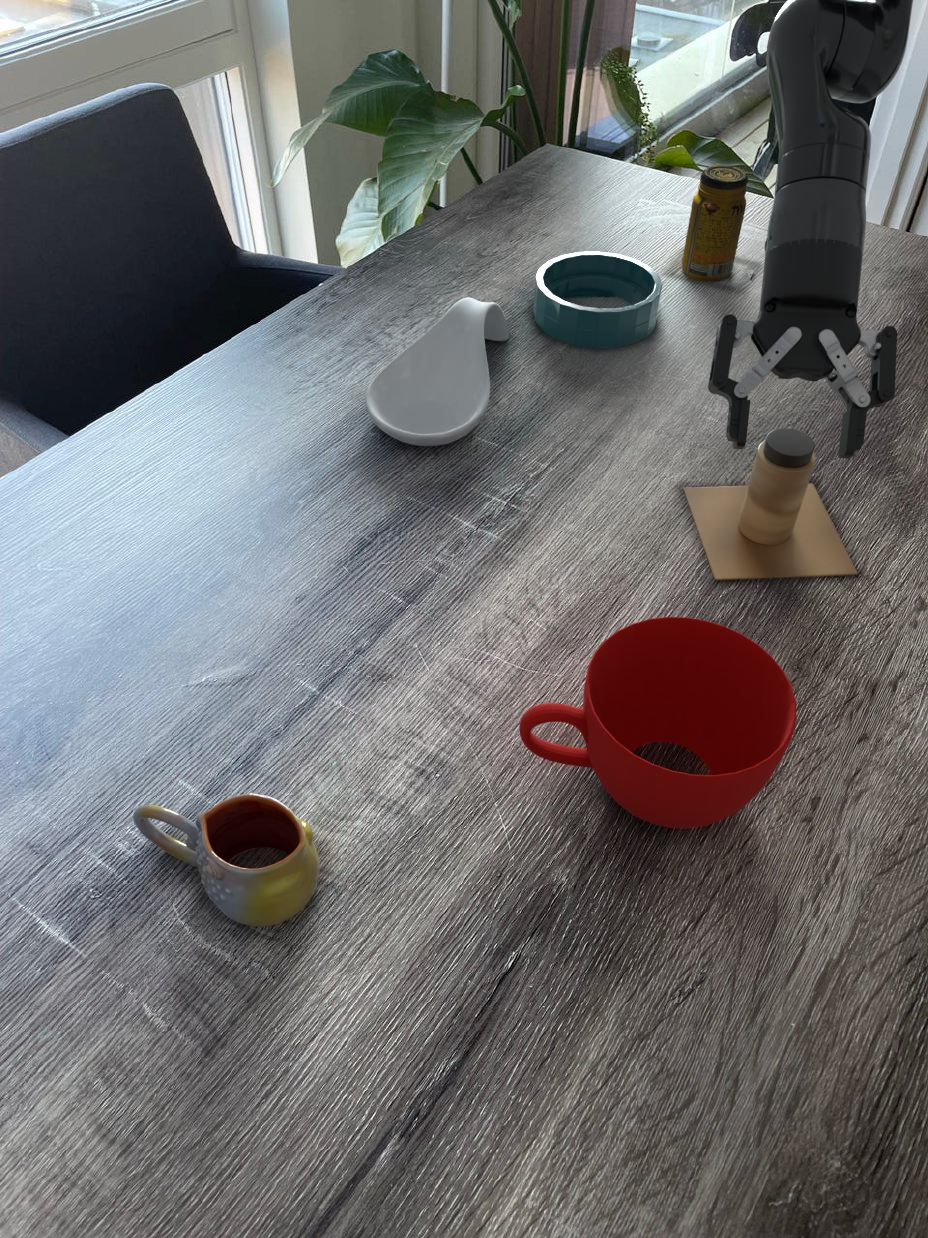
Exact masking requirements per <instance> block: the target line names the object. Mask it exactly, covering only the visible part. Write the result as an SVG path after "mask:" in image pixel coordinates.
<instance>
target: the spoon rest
mask: <svg viewBox="0 0 928 1238" xmlns="http://www.w3.org/2000/svg"><path fill="white" fill-rule="evenodd" d="M509 336H510V335H509V327H508V323H507V318H506V315H505V314H504V311H503V309H502V307H501V306H500V305H499V304H498V303H497V302H493V301H491V302H490V301H489V302H486V301H480V300H478V299H475V298H474V297H473V298H472V297H469V296H467V297H463V298H461V299H459V300H458V301H456V302H455V303H454V304H453V305H452V306H450V308H449V309H448V310H447V311H446V312H445V313H444V314H443V315H442V316H441V317H440V318H439V319H438V320H437V321H436V322H435V323H434V324H433V325H432V326H430V328H429V329H428V330H427V331H426V332H424V333H423V334H422V335H421V336H420V337H418V338H417V339H416V340H415V341H414V342H413V343H411V344H410V345H409V346H407V347H406V348H404V350H403V351H402V352H400V353H399V354H398V355H397V356H395V357H394V358H393V359H392V360H390V361H389V363H388V364H386V366H384V367H383V368H382V369H381V370H380V371H379V372H378V373H377V374H376V375H375V377H374V378H373V379H372V380H371V382H369V385H368V386H367V389H366V391H365V396H364V405H365V409H366V412H367V414H368V416H369V418H370V419H371V421H372V422H373V424H375V426H377V428H379V429H380V430H381V431H382V432H383V433H385V434H386V435H388V436H389V437H391V438H393V439H395V440H397V441H400V442H402V443H404V444H409V445H411V446H419V447H437V446H443V445H448V444H451V443H454V442H456V441H458V440H460V439H462V438H463V437H465V436H467V435H468V434H469V433H470V432H471V431H473V430H474V429H475V427H477V425H478V424H479V423H480V421H481V420H482V419H483V417H484V415H485V414H486V411H487V410H488V406H489V401H490V396H491V379H490V372H489V371H490V370H489V365H488V358H487V351H486V350H487V349H486V342H485V340H490V341H496V342H506V341H508V340H509V339H510V337H509Z"/></svg>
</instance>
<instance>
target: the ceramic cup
mask: <svg viewBox="0 0 928 1238" xmlns="http://www.w3.org/2000/svg"><path fill="white" fill-rule="evenodd" d="M582 699H583V701H582V708H579V707H576V706H573V705H569V704H565V703H559V702H546V703H541V704H540V703H539V704H537V705H535V706H532V707H531V708H529V709H528V710H526V711H525V712H524V714H523V715H522V716H521V718H520V720H519V724H518V725H519V727H518V728H519V736H520V740H521V741H522V743H523V745H524V746H525V747H526V748H527V750H528V751H530V752H531V753H532V754H534V755H535V756H537V757H539V758H541V759H543V760H546V761H550V762H553V763H557V764H561V765H568V766H575V767H579V768H581V767H582V768H589V769H593V772H594V773H595V776H596V777H597V778H598V780H599V782H600V784H601V785H602V787H603V788H604V790H605V791H606V792H607V793H608V794H609V795H610V797H611V798H612V799H613V800H614V801H615V803H617V804H618V805H619V806H620V807H621V808H622V809H624V810H625V811H627V812H628V813H629V814H631V815H633V816H634V817H636V818H638V819H639V820H641V821H643V822H647V823H648V824H649V823H650V824H652V825H654V826H659V827H664V828H668V829H682V830H683V829H684V830H685V829H686V830H687V829H696V828H701V827H707V826H709V825H712V824H715V823H718V822H721V821H724V820H725V819H727V818H729V817H731V816H733V815H734V814H735V813H738V812H739V811H740V810H743V808H745V807H746V805H749V803H750V802H751V801H752V800H753V799H754V798H755V797H756V796H757V795H758V794H759V793H760V792H761V791H762V790H763V789H764V787H765V786H766V785H767V783H768V782H769V780H770V779H771V777H772V776H773V774H774V772H775V771H776V769H777V767H778V765H779V764H780V762H781V760H782V759H783V757H784V755H785V753H786V752H787V749H789V748H788V747H789V745H790V743H791V741H792V739H793V735H794V731H795V728H796V724H797V701H796V695H795V693H794V687H793V685H792V683H791V681H790V680H789V678H788V676H787V674H786V672H785V671H784V670H783V668H782V667H781V666H780V664H779V663H778V662H777V661H776V659H775V658H774V657H773V656H772V655H771V654H769V652H768V651H767V650H765V649H764V647H762V646H761V645H759V643H757V642H755V641H754V640H752V639H750V638H749V637H748V636H746V635H745V634H744V633H743V634H742V633H740V632H738V631H736V630H734V629H732V628H729V627H727V626H726V625H722V624H719V623H716V622H712V621H709V620H705V619H700V618H693V617H687V616H662V617H653V618H648V619H645V620H641V621H637V622H634V623H632V624H629V625H627V626H625V627H623V628H621V629H619V630H617V631H615V632H614V633H613V634H611V635H610V636H609V637H608V638H606V639H605V640H604V641H603V642H602V643H601V645H600V646H599V647H598V648H597V649H596V650H595V651H594V652H593V655H592V658H591V660H590V662H589V664H588V666H587V670H586V674H585V680H584V685H583V698H582ZM546 723H565V724H569V725H571V726H573V727H575V728H576V729H577V730H578V732H580V735H581V736H582V738H583V741H584V743H585V748H583V747H574V746H568V745H563V744H556V743H553V742H549V741H546V740H544V739H541V738H539V737H538V736H536V734H534V733H533V732H532V730H533V729H534V728H535V727H537V726H539V725H542V724H546ZM657 742H659V743H670V744H675V745H678V746H681V747H683V748H686V749H688V750H690V751H691V752H693V753H694V754H695V755H697V757H698V758H700V760H702V761H703V763H704V764H705V766H706V767H707V769H708V771H709V774H710V775H709V774H691V773H686V772H680V771H675V770H671V769H668V768H666V767H662V766H660V765H657V764H654V763H651V762H650V761H649V760H646V759H644V758H642V757H640V756H638V755H636V754H635V753H634V751H635V750H636V749H638V748H640V747H642V746H645V745H647V744H651V743H657Z"/></svg>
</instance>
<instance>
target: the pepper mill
mask: <svg viewBox="0 0 928 1238" xmlns="http://www.w3.org/2000/svg"><path fill="white" fill-rule="evenodd" d="M815 447H816V445H815V441H814V439H813V438H812V437H811V436H810V435H809V434H807V433H805V432H804V431H801V430H798V429H795V428H789V427H780V428H775V429H773V430H771V431H770V432H768V433H767V435H766V438H765V440H764V441H762V442H761V443H760V444H759V445H758V447H757V450H756V454H755V458H754V462H753V465H752V469H751V473H750V476H749V479H748V483H747V486H748V487H747V490H746V494H745V498H744V501H743V505H742V509H741V512H740V516H739V519H738V527H739V530H740V531H741V533H742V534H743V535H744V536H745V537H747V538H748V539H750V540H752V541H754V542H756V543H760V544H764V545H777V544H781V543H783V542H785V541H787V540H788V539H789V538H790V537H791V535H792V532H793V529H794V526H795V523H796V520H797V517H798V513H799V510H800V507H801V504H802V501H803V498H804V495H805V492H806V489H807V486H808V484H810V480H811V478H812V474H813V470H814V467H815V465H816V462H817V461H816V460H817V457H816V454H815V452H814V451H815Z"/></svg>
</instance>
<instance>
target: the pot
mask: <svg viewBox="0 0 928 1238" xmlns="http://www.w3.org/2000/svg"><path fill="white" fill-rule="evenodd" d="M534 278H535V279H534V294H533V309H532V314H533V318H534V320H535V323H536V324H537V325H538V326H539V328H540V329H541V330H542V331H543V332H544V333H546V334H548V335H550V336H551V337H552V338H554V339H556V340H558V341H562V342H564V343H568V344H571V345H573V346H579V347H587V348H595V349H599V348H600V349H603V348H617V347H622V346H627V345H628V346H629V345H632V344H634V343H637V342H639V341H641V340H643V339H645V338H647V337H649V335H650V334H651V333H652V332H654V330H655V328H656V325H657V320H658V314H659V309H660V303H661V295H662V291H663V282H662V280H661V278H660V274H658V273H657V271H655V270H654V269H653V268H652V267H651V266H650V265H647V264H645V263H644V262H642V261H640V260H638V259H636V258H634V257H629V256H626V255H623V254H620V253H613V252H603V251H578V252H572V253H567V254H562V255H559V256H557V257H554V258H552V259H549V260H547V261H546V262H545V263H544V264H542V265H541V266H540V267H539V268H538V270H537V272H536V275H535V277H534ZM587 298H588V299H594V298H595V299H596V298H619V299H622V300H623V301H625V302H627V303H629V304H630V305H625V306H622V307H621V306H620V307H611V308H610V307H607V308H598V307H592V306H591V307H590V306H584V305H579V304H575V303H573V302H569V301H565V300H564V299H587Z"/></svg>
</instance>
